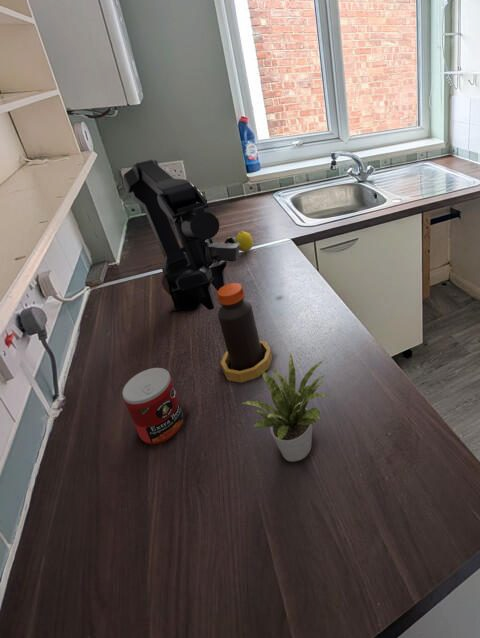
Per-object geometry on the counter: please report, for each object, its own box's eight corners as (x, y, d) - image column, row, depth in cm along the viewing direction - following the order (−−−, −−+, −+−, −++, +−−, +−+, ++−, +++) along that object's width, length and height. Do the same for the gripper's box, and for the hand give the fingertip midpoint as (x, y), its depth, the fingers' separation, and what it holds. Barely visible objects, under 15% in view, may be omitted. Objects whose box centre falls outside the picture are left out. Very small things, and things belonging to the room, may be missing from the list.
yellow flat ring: (217, 384, 86) (214, 375, 85) (233, 349, 95) (230, 340, 94) (264, 381, 86) (262, 372, 85) (275, 346, 95) (274, 337, 94)
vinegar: (231, 359, 92) (211, 285, 85) (261, 349, 95) (245, 277, 87) (233, 379, 86) (212, 302, 79) (265, 369, 89) (248, 293, 81)
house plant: (354, 418, 76) (346, 350, 70) (328, 493, 63) (315, 419, 57) (285, 407, 79) (271, 341, 73) (247, 476, 67) (227, 404, 60)
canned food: (155, 453, 72) (136, 408, 67) (131, 433, 76) (112, 389, 71) (193, 420, 78) (178, 377, 73) (169, 403, 82) (154, 361, 77)
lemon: (234, 254, 139) (229, 234, 136) (245, 247, 144) (241, 227, 140) (247, 257, 137) (242, 236, 134) (257, 249, 141) (253, 229, 138)
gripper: (217, 237, 82) (242, 306, 84) (239, 220, 100) (259, 278, 103) (163, 253, 81) (190, 322, 84) (194, 233, 99) (216, 290, 102)
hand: (217, 301), depth 93 cm, fingers open, 9 cm apart
